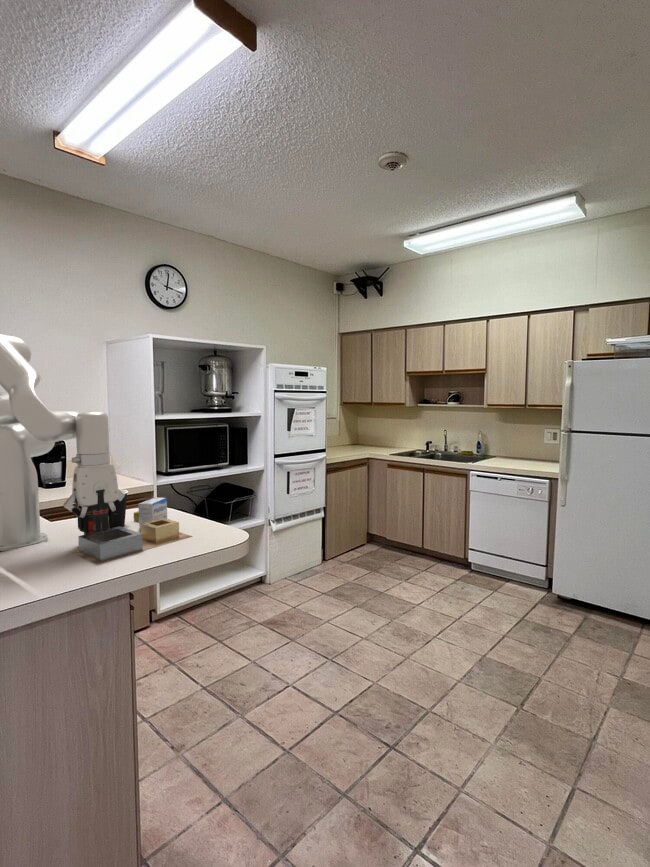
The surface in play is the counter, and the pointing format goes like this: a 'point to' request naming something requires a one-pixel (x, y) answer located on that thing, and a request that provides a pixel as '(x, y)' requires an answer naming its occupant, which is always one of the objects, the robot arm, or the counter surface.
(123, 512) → the dixie cup
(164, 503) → the medicine box
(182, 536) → the fitting board
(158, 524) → the tan wooden open box
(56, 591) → the counter surface
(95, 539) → the grey open tray
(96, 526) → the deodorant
